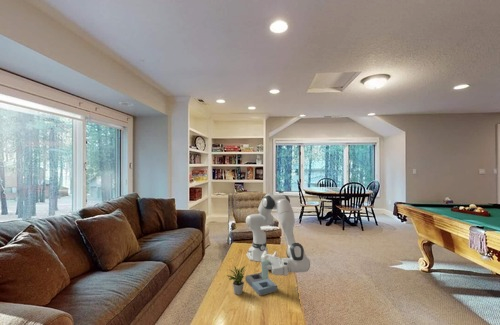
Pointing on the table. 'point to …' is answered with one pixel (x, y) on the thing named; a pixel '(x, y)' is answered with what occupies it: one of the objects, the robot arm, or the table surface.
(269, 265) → the cable organizer
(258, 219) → the robot arm
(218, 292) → the table surface
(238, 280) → the house plant
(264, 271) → the plug
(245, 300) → the table surface
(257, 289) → the socket panel
